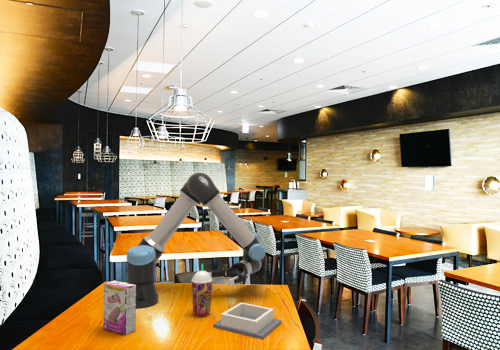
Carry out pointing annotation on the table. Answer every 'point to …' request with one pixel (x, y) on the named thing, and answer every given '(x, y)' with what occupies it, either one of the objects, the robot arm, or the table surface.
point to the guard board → (248, 320)
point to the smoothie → (201, 293)
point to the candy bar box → (119, 307)
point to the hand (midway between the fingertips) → (215, 280)
